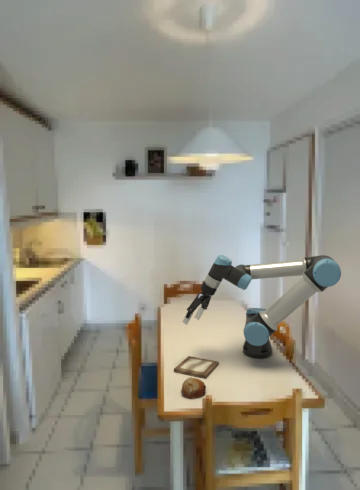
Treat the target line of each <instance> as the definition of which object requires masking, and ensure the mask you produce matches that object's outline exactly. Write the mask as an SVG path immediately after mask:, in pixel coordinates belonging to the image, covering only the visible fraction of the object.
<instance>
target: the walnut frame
mask: <svg viewBox="0 0 360 490" xmlns="http://www.w3.org/2000/svg"><path fill="white" fill-rule="evenodd" d="M219 363H220V362H219V360H218V361H217V360H212V359H206V358H201V357H197V356H191V355H188V356H186V358H185V359H183V360H182V361H181V362H180V363H179V364H178V365H177V366H175V367H174V368H173V373H177V374H181V375H186V376H191V377H195V378H196V377H197V378H198V379H199V378H200V379H203V380H204V379H205V380H206V379H207V378H208V377H209V376H210V375H211V374H212V373H213V372H214V371H215V370H216V368H217V367H218V366H219V365H220V364H219Z"/></svg>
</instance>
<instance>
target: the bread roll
mask: <svg viewBox="0 0 360 490" xmlns="http://www.w3.org/2000/svg"><path fill="white" fill-rule="evenodd" d="M206 390H207V385H206V384H205V382H204V381H203V380H201V379H199V378H196V377H195V378H194V377H193V376H191V377H187V379H185V380H183V382H182V386H181V390H180V392H181V394H182V396H183V397H184V398H187V399H198V398H201V397H203V396H205V393H206Z"/></svg>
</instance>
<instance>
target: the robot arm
mask: <svg viewBox="0 0 360 490" xmlns="http://www.w3.org/2000/svg"><path fill="white" fill-rule="evenodd" d="M232 263H233V261H232V259H230V257H228V256H225V255H223V254H219V255H217V257H216V259H215V260H214V262H213V264H212V265H211V266H210V269H209V270H208V273H207V274H206V275H205V278H204V281H203V282H202V284H201V285H200V290H201V291H202V292H200V293H199V292H198V293H197V295H196V297H195V298H194V299H193V301H192V302H191V304H190V305H189V306H188V307H187V308H186V311H187V312H186V314H185V315H184V318H183V319H182V321H181V322H182V324H183V323H184V324H185V325H188V324H189V322H190V321H191V318H192V317H193V315H194V313H195V311H196V310H197V311H196V313H195V315H194V318H195V319H196V320H197V321H200V319H201V317H202V315H203V314H204V311H207V310H208V308H209V305H210V302H211V299H212V297H213V296H214V295H215V294H216V292H217V290H218V288H220V285H221V283H222V281H223V280H225V281H227V282H229V283H230V284H232V285H233V286H236V287H238V289H241V290H242V291H245V290H247V289H248V287H249V285H250V284H251V282H252V280H260V279H261V280H265V279H273V278H285V277H286V278H287V277H288V278H289V277H297V276H303V277H302V278H301V279H300V280H299V281H298V282H296V283H294V285H293V286H292V287H290V289H288V290H287V291H286V292H285V293H284V294H283V295H282V296H280V297H279V298H278V299H276V301H274V302H273V304H271V305H270V306H269V307H267V309H266V308H263V307H251V308H247V309H246V312H245V316H246V317H245V318H246V319H245V325H244V326H243V327H244V328H243V336H244V339H245V340H244V343H243V345H242V353H243V354H244V355H245V356H246V357H250V358H254V359H255V358H256V359H265V358H269V357H271V356H272V355H273V347H272V343H271V340H270V336H272V335H273V334H274V333H275V332H277V331H278V325H280V324H281V323H282V322H284V320H286V319H287V318H288V317H289V316H291V315H292V314H293V313H294V312H295V311H296V310H298V309H299V308H300V307H301V306H302V305H304V303H305V302H307V301H308V300H309V299H310V298H311V297H312V296H314V294H316V293H323V292H325V290H327V288H329V287H333V286H335V285H336V284H338V283H339V281H340V280H341V276H342V270H341V267H340V265H339V263H338V262H337V261H336V260H335V259H333V258H332V257H331V256H329V255H325V254H324V255H323V254H322V255H314V256H308V257H307V256H306V257H303V258H302V259H297V260H286V261H277V262H267V263H264V262H263V263H255V264H253V263H252V264H241V263H240V264H238V265H236V266H233V265H232Z"/></svg>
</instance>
